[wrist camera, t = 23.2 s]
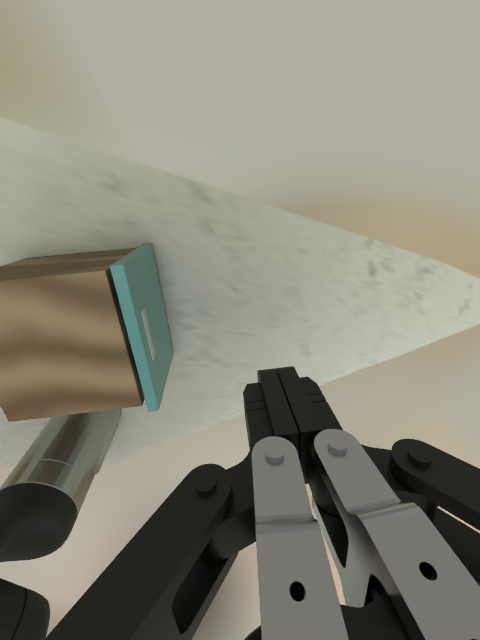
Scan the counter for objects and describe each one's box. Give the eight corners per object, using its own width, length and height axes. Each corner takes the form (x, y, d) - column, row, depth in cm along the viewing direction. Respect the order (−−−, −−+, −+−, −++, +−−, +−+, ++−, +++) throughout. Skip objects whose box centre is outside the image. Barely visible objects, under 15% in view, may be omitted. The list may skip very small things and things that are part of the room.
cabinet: (161, 349, 45) (142, 405, 33) (65, 359, 45) (9, 421, 32) (139, 247, 39) (105, 270, 26) (27, 258, 38) (-63, 286, 26)
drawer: (174, 352, 45) (160, 409, 33) (78, 362, 44) (27, 425, 32) (153, 243, 38) (124, 264, 26) (39, 253, 37) (-46, 280, 25)
